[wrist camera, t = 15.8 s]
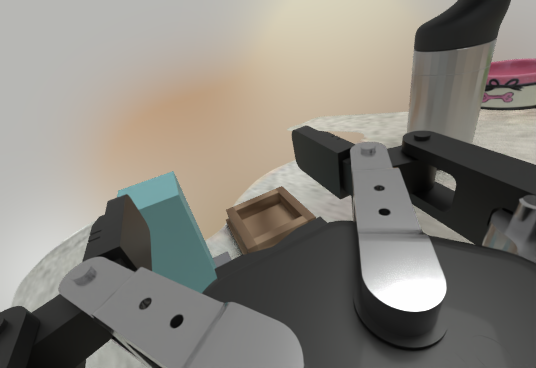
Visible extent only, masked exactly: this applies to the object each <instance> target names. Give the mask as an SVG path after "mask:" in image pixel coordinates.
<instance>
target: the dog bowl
mask: <svg viewBox="0 0 536 368" xmlns="http://www.w3.org/2000/svg"><path fill="white" fill-rule="evenodd" d="M532 108H536V59H514V60H504V61H497V62H491V66H490V70H489V74H488V79H487V83H486V87H485V92H484V96H483V100H482V104H481V109H488V110H522V109H532Z"/></svg>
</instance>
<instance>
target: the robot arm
mask: <svg viewBox="0 0 536 368" xmlns="http://www.w3.org/2000/svg"><path fill="white" fill-rule="evenodd" d="M510 1H511V0H458V1H457V2H456V3H455V4H454V5H453V6H451V7H450V8H449V9H448V10H446V11H445V12H443V13H442V14H440V15H439V16H437V17H435V18H433V19H432V20H430V21H428V22H426V23H424V24H423V25H421V26H420V27H419V28H418V30H417V32H416V35H415V44H414V49H415V50H414V56H413V67H412V80H411V91H410V103H409V114H408V125H407V134H405V135H404V136H403V140H402V146H398V147H394V148H389V149H387V148H386V147H385V146H384V145H383V144H380V143H376V142H363V143H359V144H356V145H355V144H353V143H351V142H349V141H346V140H344V139H342V138H340V137H338V136H335V135H333V134H331V133H328V132H324V131H318V130H315V129H313V128H311V127H309V126H303V127H301V128H298V129H296V130H293V131H292V141H293V147H294V152H295V158H296V162H297V164H298V166H299V168H300V169H301V170H302V171H304V172H305V173H306V174H308V175H309V176H310V177H312V178H313V179H314V180H316V181H317V182H318V183H320V184H321V185H322V186H323V187H325V188H326V189H327V190H329V191H330V192H331V193H333V194H334V195H335V196H337V197H338V198H339V199H343V198H345V197H347V196H349V195H351V196H352V212H353V221H334V222H329V223H327V222H326V221H325V220H323V219H322V218H321V217H318V218H316V219H314V220H312V221H310V222H308V223H306V224H304V225H302V226H300V227H298V228H296V229H295V230H294V231H292V232H291V233H290V234H289V235H287V236H286V237H285V238H284V239H282V240H281V241H280V242H279V243H277V244H276V245H275V246H273V247H270V248H266V249H262V250H259V251H255V252H251V253H248V254H244V255H241V256H239V257H237V258H235V259H233V260H231V261H229V262H227V263H225V264H223V265H221V266H219V267H217V268H215V269H214V270H215V273H216V276H217V279H215V280H214V281H213V282H212V283H211V284H210V285H209V286H208V287H207V288H206V289H205V290H204V291H203V292H202V293H199V292H197V291H195V290H193V289H190V288H188V287H186V286H184V285H181V284H179V283H177V282H175V281H172V280H170V279H168V278H166V277H164V276H161V275H159V274H157V273H155V272H152V258H151V238H150V230H149V227H148V225H147V223H146V221H145V219H144V218H143V216H142V215H141V213H140V212H139V210H138V208H137V207H136V205H135V204H134V202H133V200H132V199H131V197H130V196H129V195H128V194H125V195H123V196H120V197H117V198H115V199H112V200H110V201H108V203H107V207H106V212H105V215H102V216H100V217H99V218H98V219H97V221H96V222H95V223H94V224H93V226H92V229H91V232H90V236H89V240H88V242H89V243H87V247H86V251H85V254H84V258H83V262H82V263H80V264H79V265H77V266H76V267H74V268H73V269H72V270H71V271H70V272H69V273H68V274H67V275H66V276H65V277H64V278H63V280H62V281H61V283H60V285H59V290H58V291H59V293H60V294H59V295H58V296H56V297H55V298H53V299H52V300H50V301H49V302H47V303H46V304H44V305H43V306H41V307H40V308H38V309H37V310H35V311H33V312H32V313H31V312H29V311H28V310H27V309H25V308H24V307H22V306H16V307H12V308H9V309H7V310H4V311H3V312H0V368H85V364H86V359H87V358H88V357H89V356H90V355H92V354H93V353H94V352H95V351H97V350H98V349H99V348H100V347H101V346H103V345H104V344H105V343H106V342H108V341H109V340H110V339H111V340H112V341H114V342H115V343H116V344H118V345H119V346H120V347H122V348H123V349H124V350H125V351H127V352H128V353H129V354H131V355H132V356H133V357H135V358H136V359H137V360H139V361H140V362H141V363H143V364H144V365H145V366H147V367H148V368H536V165H534V164H531V163H528V162H525V161H522V160H519V159H516V158H513V157H510V156H507V155H504V154H501V153H497V152H494V151H491V150H488V149H485V148H482V147H479V146H476V145H473V144H472V142H473V138H474V134H475V130H476V126H477V121H478V117H479V113H480V109H481V104H482V100H483V96H484V92H485V87H486V83H487V79H488V74H489V70H490V66H491V61H492V57H493V52H494V47H495V44H496V40H497V39H496V38H497V35H498V31H499V28H500V25H501V23H502V20H503V18H504V16H505V14H506V12H507V10H508V7H509V5H510ZM437 169H440V170H442V171H444V172H446V173H448V174H450V175H452V176H453V178H454V179H455V181H456V190H455V191H453V190H451V189H449V188H447V187H445V186H443V185H441V184H439V183H437V182H435V176H436V171H437ZM412 204H413V205H415V206H416V207H418V208H419V209H421V210H422V211H424V212H426V213H427V214H429V215H430V216H432V217H433V218H435V219H437V220H438V221H440V222H441V223H443V224H444V225H446V226H447V227H449V228H451V229H452V230H454V231H455V232H457V233H458V234H460V235H462V236H463V237H465V238H466V239H468V240H469V241H471V242H473V243H474V244H470V243H465V242H459V241H454V240H449V239H444V238H439V237H434V236H429V235H427V234H425V233H423V232H422V230H421V228H420V225H419V222H418V219H417V217H416V214H415V211H414V208H413V205H412ZM475 244H476V245H475Z"/></svg>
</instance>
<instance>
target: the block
mask: <svg viewBox="0 0 536 368" xmlns="http://www.w3.org/2000/svg"><path fill="white" fill-rule="evenodd" d="M125 194H128V195H129V196H130V197H131V199H132V200H133V202H134V204H135V205H136V207H137V208H138V210H139V212H140V213H141V215H142V216H143V218H144V219H145V221H146V223H147V225H148V227H149V230H150V238H151V258H152V272H155V273H157V274H159V275H161V276H164V277H166V278H168V279H170V280H172V281H175V282H177V283H179V284H181V285H184V286H186V287H188V288H190V289H193V290H195V291H197V292H199V293H202V292H203V291H204V290H205V289H206V288H207V287H208V286H209V285H210V284H211V283H212V282H213V281H214V280H215V279H217V276H216V273H215V270H214V269H215V268H217V267H216V265H215V262H214V260H213V258H212V256H211V254H210V251H209V249H208V247H207V245H206V243H205V240H204V238H203V236H202V234H201V232H200V229H199V227H198V225H197V223H196V220H195V218H194V216H193V214H192V212H191V209H190V208H189V206H188V203H187V201H186V198H185V196H184V194H183V192H182V189H181V187H180V185H179V183H178V181H177V178H176V176H175V174H174V172H173V171H172V172H170V173H167V174H164V175H161V176H159V177H155V178H153V179H150V180H147V181H144V182H141V183H139V184H136V185H133V186H130V187H128V188H125V189H122V190H119V191H118V195H117V197H120V196H123V195H125Z"/></svg>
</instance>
